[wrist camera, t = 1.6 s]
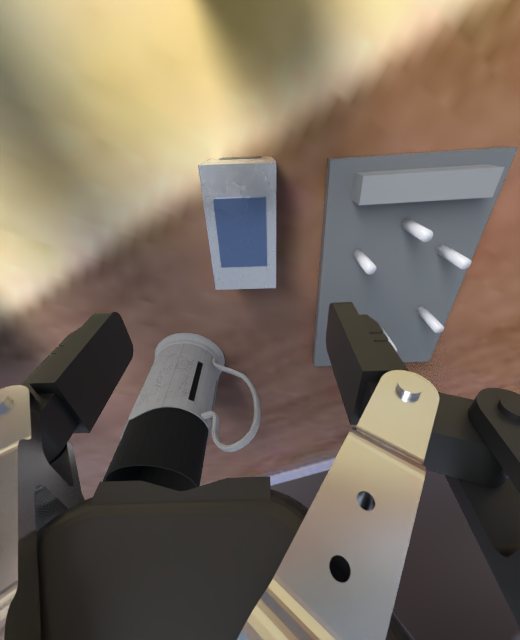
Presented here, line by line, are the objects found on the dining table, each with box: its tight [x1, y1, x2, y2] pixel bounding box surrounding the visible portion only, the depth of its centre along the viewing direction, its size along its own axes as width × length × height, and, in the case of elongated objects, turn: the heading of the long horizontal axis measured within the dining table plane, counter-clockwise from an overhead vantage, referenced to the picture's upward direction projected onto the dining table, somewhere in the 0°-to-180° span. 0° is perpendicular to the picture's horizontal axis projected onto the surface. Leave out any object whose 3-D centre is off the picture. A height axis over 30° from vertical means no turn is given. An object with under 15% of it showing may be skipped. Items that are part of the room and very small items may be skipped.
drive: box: [198, 156, 276, 290], centre depth 22 cm, size 9×5×6 cm, turn 2°
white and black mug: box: [103, 333, 261, 491], centre depth 27 cm, size 9×14×15 cm, turn 117°
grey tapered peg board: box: [312, 147, 518, 367], centre depth 26 cm, size 22×14×5 cm, turn 3°
